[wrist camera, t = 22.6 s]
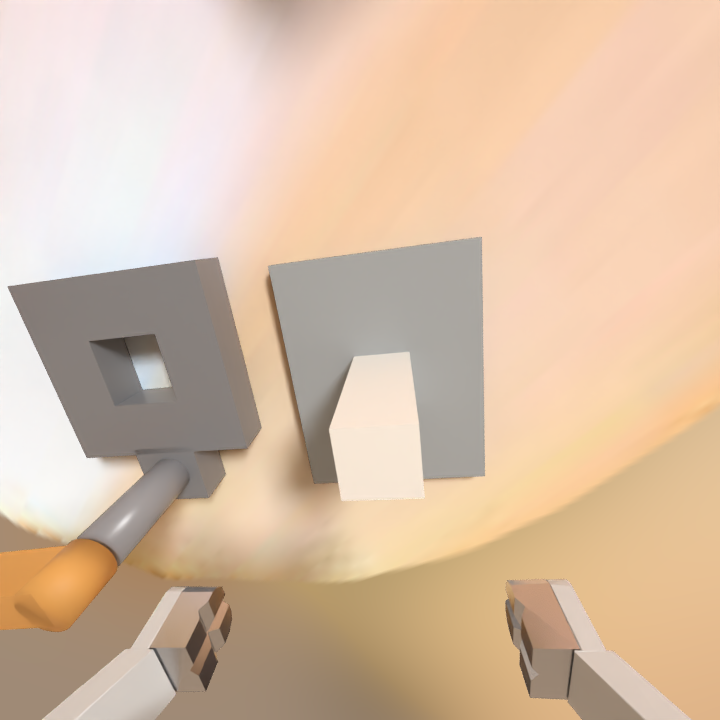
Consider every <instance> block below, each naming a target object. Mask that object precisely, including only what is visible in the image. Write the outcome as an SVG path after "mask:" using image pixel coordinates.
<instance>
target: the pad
mask: <svg viewBox="0 0 720 720" xmlns="http://www.w3.org/2000/svg"><path fill="white" fill-rule="evenodd" d="M268 268H269V273H270V278H271V282H272V287H273V292H274V296H275V301H276V306H277V311H278V315H279V320H280V325H281V329H282V334H283V339H284V344H285V348H286V353H287V358H288V362H289V367H290V372H291V377H292V381H293V386H294V391H295V395H296V400H297V405H298V410H299V414H300V419H301V424H302V429H303V433H304V438H305V443H306V447H307V452H308V457H309V462H310V466H311V471H312V476H313V480H314V484H317V483H338V478H337V472H336V467H335V461H334V455H333V450H332V444H331V438H330V433H329V428H330V425H331V422H332V419H333V416H334V413H335V410H336V407H337V404H338V401H339V399H340V396H341V393H342V390H343V387H344V384H345V381H346V378H347V375H348V372H349V369H350V366H351V364H352V361H353V358H354V357H355V356H366V355H378V354H389V353H400V352H410V360H411V367H412V375H413V382H414V390H415V397H416V405H417V412H418V420H419V430H420V443H421V456H422V469H423V479H431V478H453V477H476V476H485V450H484V373H483V297H482V237H476V238H469V239H462V240H454V241H447V242H439V243H432V244H424V245H417V246H410V247H402V248H395V249H387V250H380V251H373V252H365V253H358V254H350V255H343V256H335V257H328V258H321V259H313V260H306V261H298V262H291V263H284V264H276V265H271V266H268Z"/></svg>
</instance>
